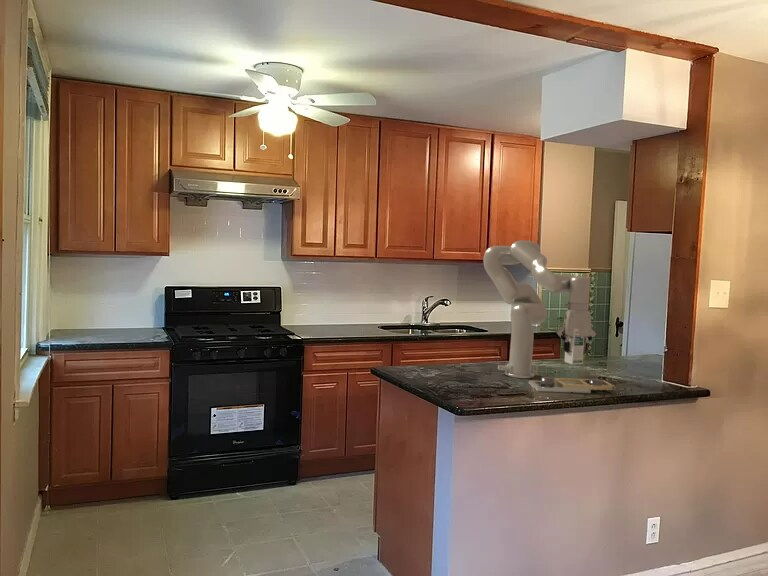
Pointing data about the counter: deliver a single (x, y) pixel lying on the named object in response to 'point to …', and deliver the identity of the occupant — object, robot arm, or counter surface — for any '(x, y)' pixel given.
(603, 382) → the brass end link
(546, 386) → the steel end link
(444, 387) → the counter surface
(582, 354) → the syrup box
